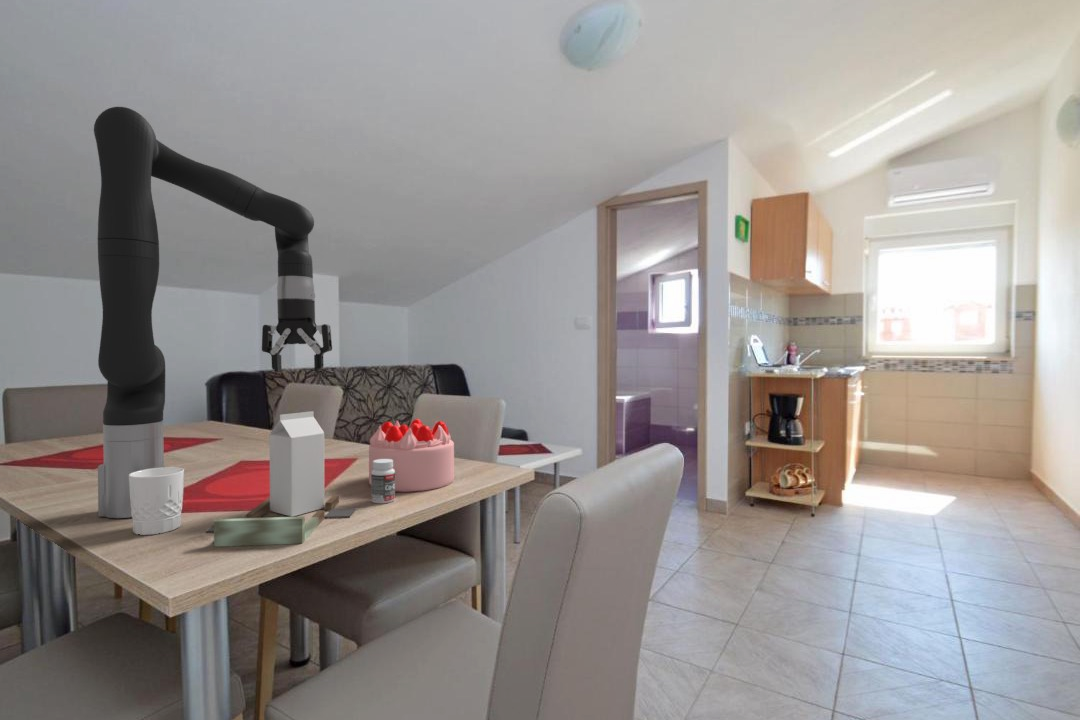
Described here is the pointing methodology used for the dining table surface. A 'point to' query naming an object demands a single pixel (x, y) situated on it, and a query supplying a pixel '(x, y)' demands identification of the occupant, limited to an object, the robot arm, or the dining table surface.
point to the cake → (415, 454)
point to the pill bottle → (383, 481)
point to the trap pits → (331, 514)
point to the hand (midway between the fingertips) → (298, 371)
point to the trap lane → (267, 527)
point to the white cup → (156, 499)
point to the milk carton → (296, 465)
